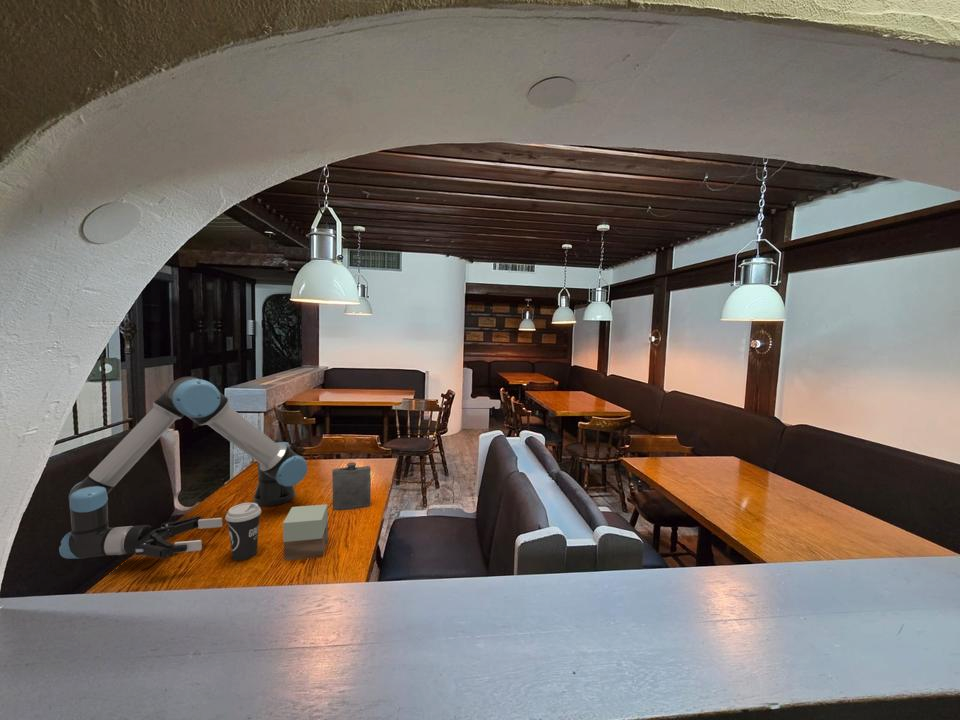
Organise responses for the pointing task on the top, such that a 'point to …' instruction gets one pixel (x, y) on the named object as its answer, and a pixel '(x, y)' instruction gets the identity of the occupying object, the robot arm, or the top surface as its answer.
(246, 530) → the coffee cup
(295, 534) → the tower top
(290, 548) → the tower base
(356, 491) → the flask
